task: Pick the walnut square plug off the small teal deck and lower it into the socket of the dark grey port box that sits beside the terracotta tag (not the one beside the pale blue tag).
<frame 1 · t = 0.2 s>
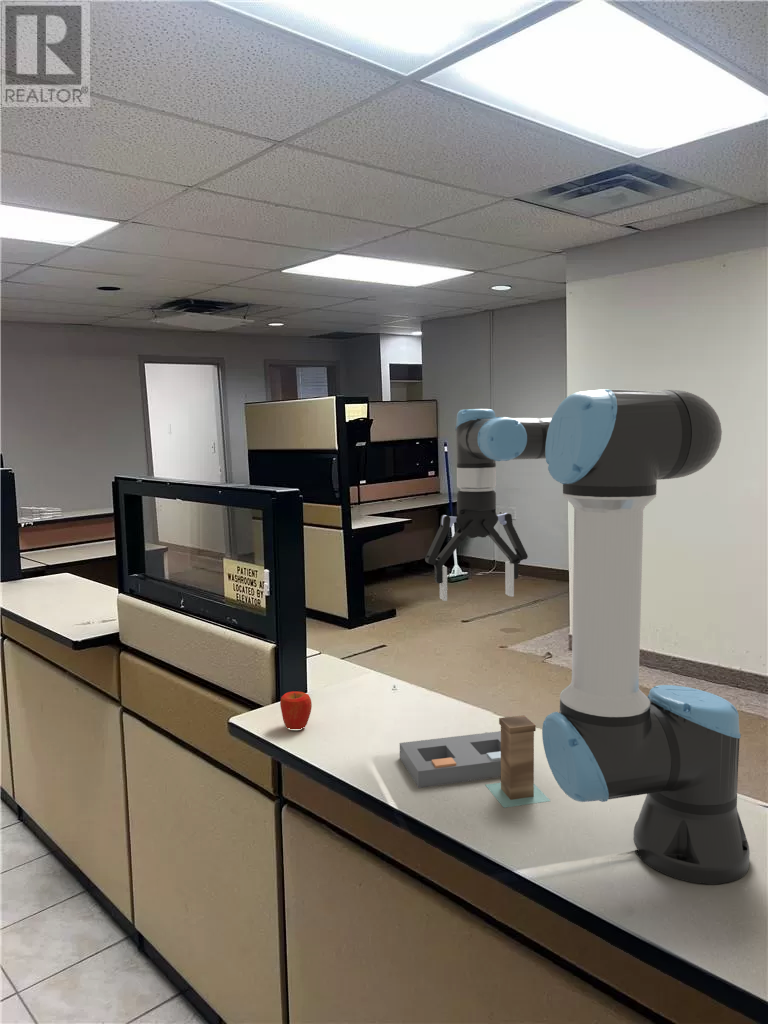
hand: (476, 597, 146), 28 cm above the counter, fingers open, 13 cm apart
apple: (296, 729, 153), on the counter
deck: (517, 799, 121), on the counter
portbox: (463, 771, 132), on the counter
plug: (517, 792, 121), point 1 cm above the counter, touching deck
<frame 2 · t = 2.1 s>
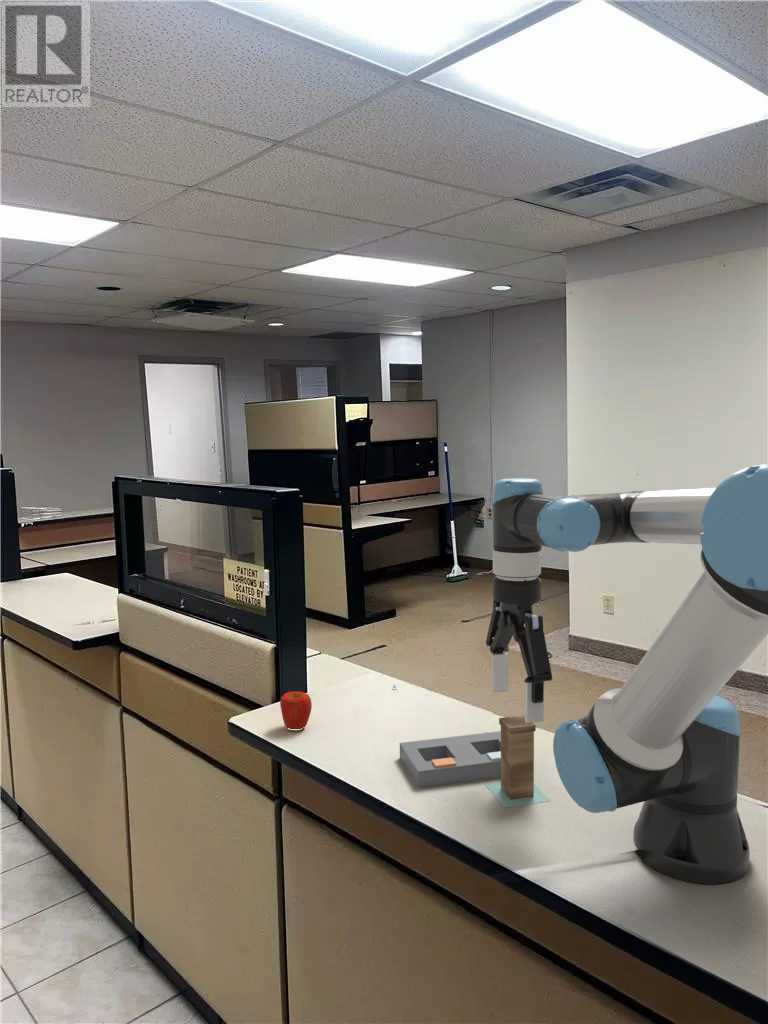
hand: (516, 705, 120), 16 cm above the counter, fingers open, 13 cm apart
nothing on the counter moved.
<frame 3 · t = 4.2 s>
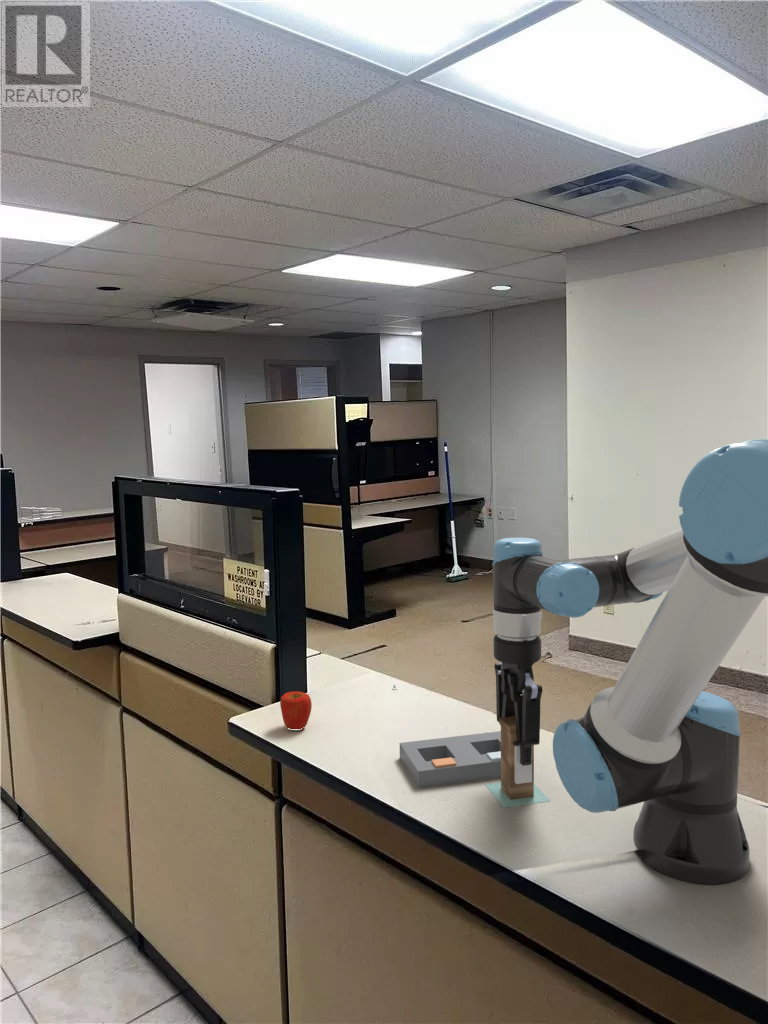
hand: (517, 775, 121), 4 cm above the counter, fingers closed on plug, 4 cm apart
plug: (517, 792, 121), point 1 cm above the counter, touching deck, gripper
everything else where it was.
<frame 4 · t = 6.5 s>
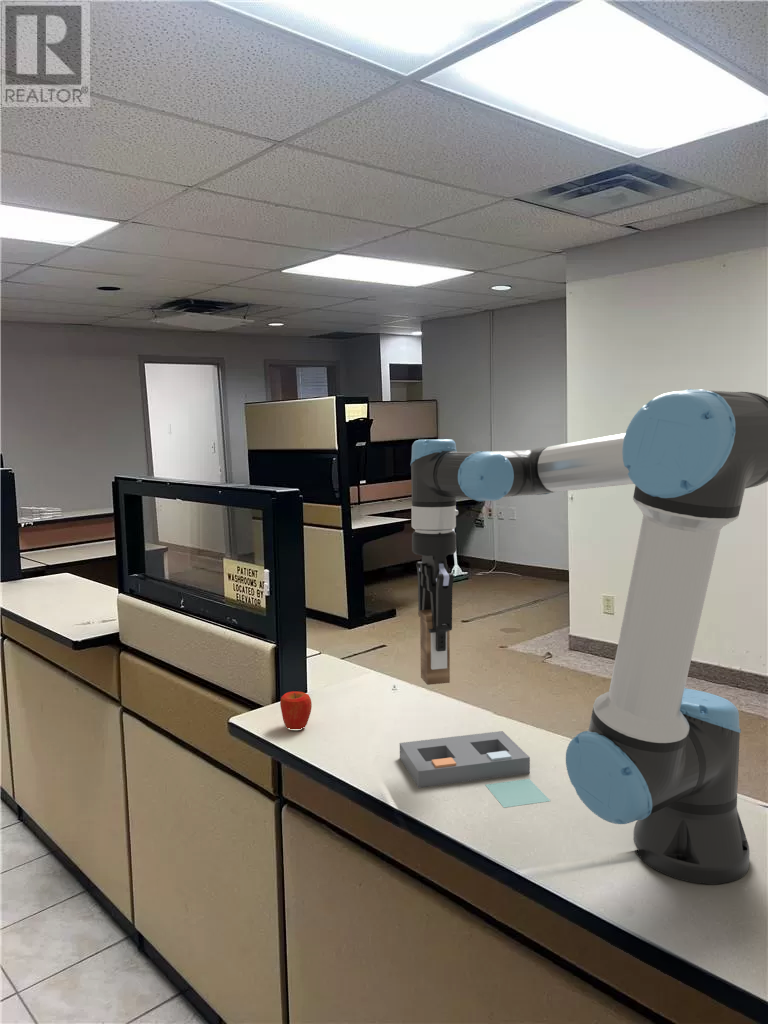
hand: (434, 663, 129), 20 cm above the counter, fingers closed on plug, 4 cm apart
plug: (435, 680, 129), point 17 cm above the counter, touching gripper
everything else where it was.
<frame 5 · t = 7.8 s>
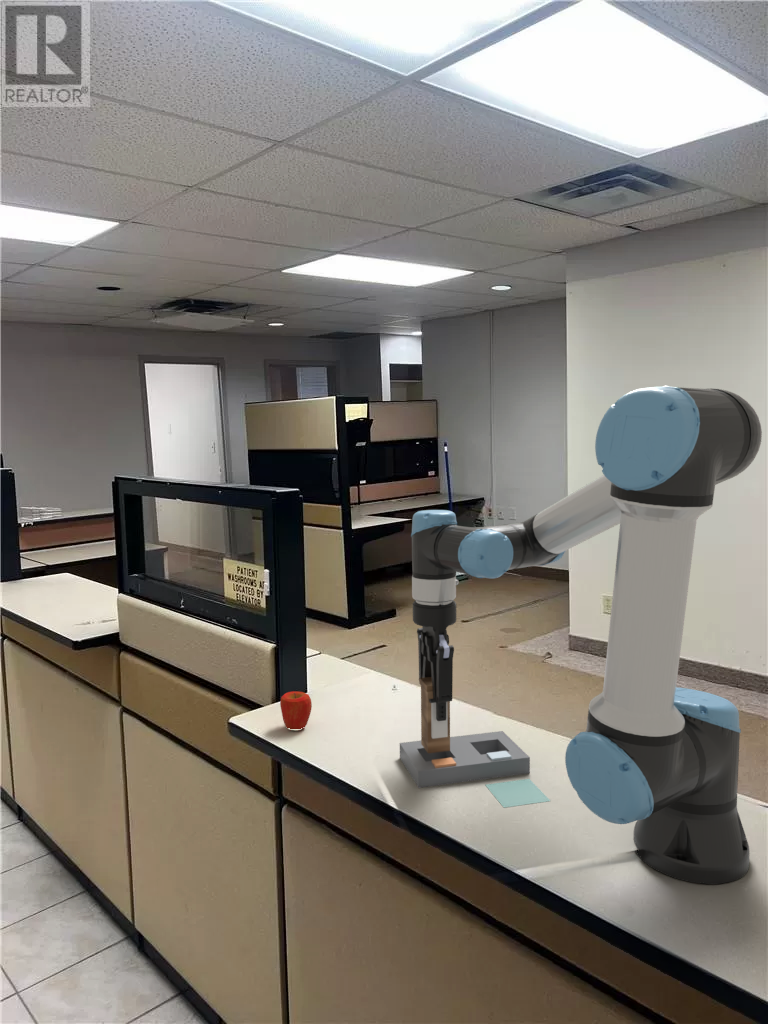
hand: (435, 731, 130), 8 cm above the counter, fingers closed on plug, 4 cm apart
plug: (435, 747, 130), point 5 cm above the counter, touching gripper
everything else where it was.
when the fingers open (5 cm above the counter, at t = 8.9 s): plug drops 2 cm, resting in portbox.
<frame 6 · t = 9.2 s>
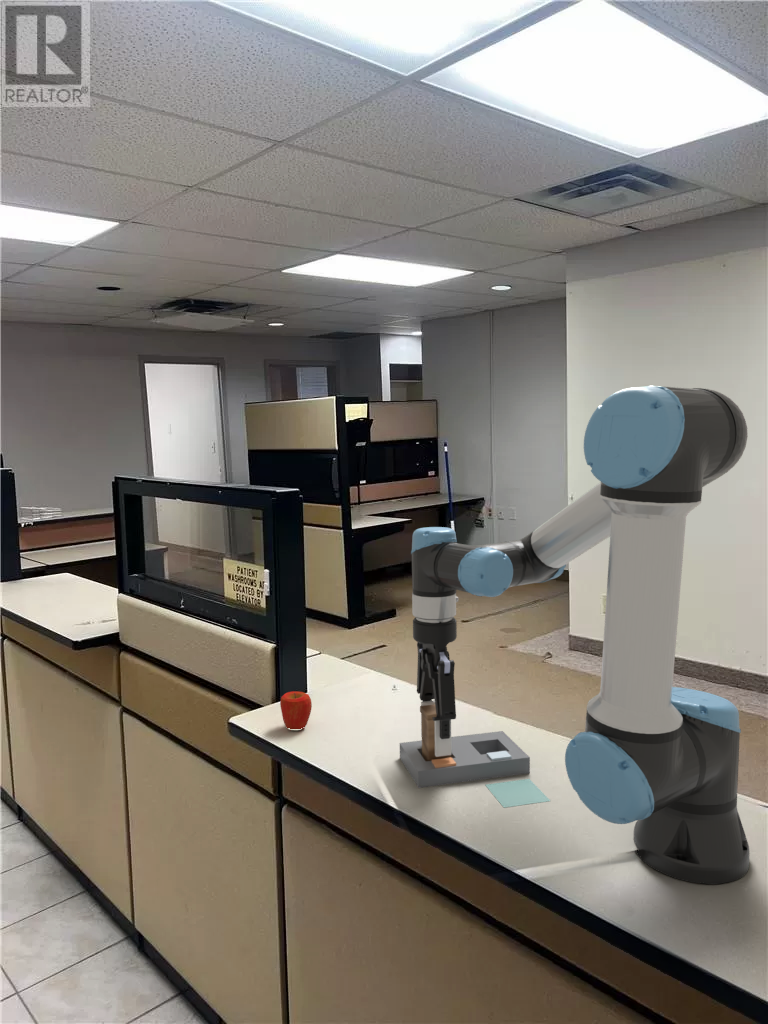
hand: (435, 745, 130), 5 cm above the counter, fingers open, 7 cm apart
plug: (436, 775, 131), resting in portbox
everything else where it was.
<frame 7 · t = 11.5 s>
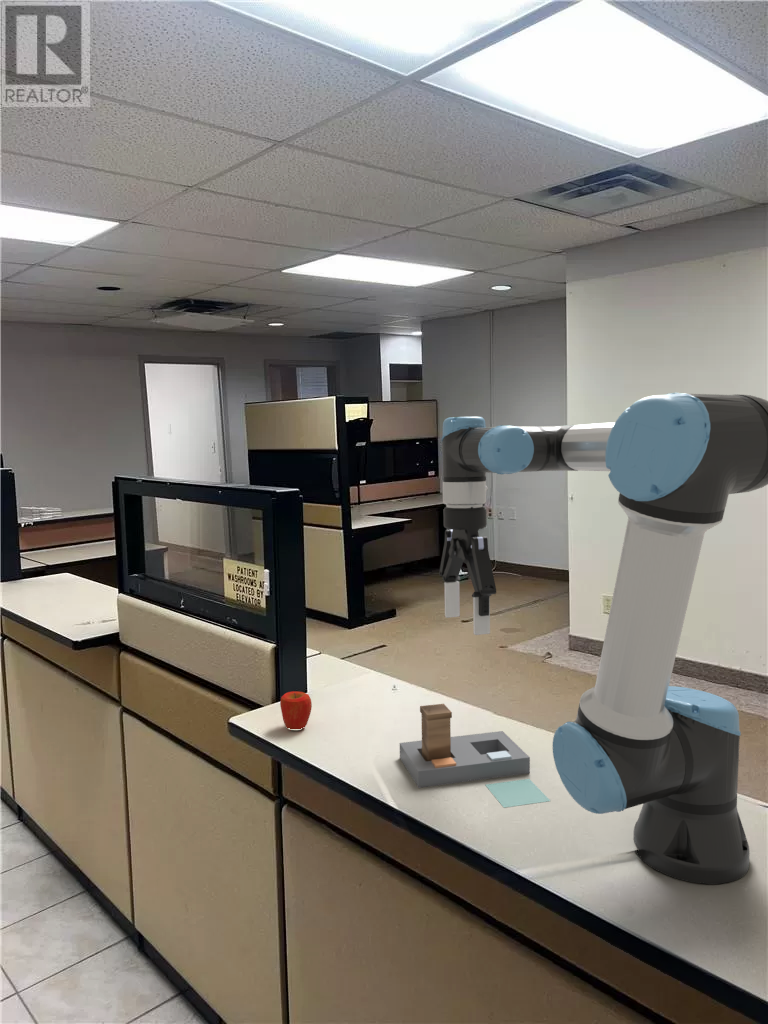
hand: (466, 625, 132), 26 cm above the counter, fingers open, 13 cm apart
nothing on the counter moved.
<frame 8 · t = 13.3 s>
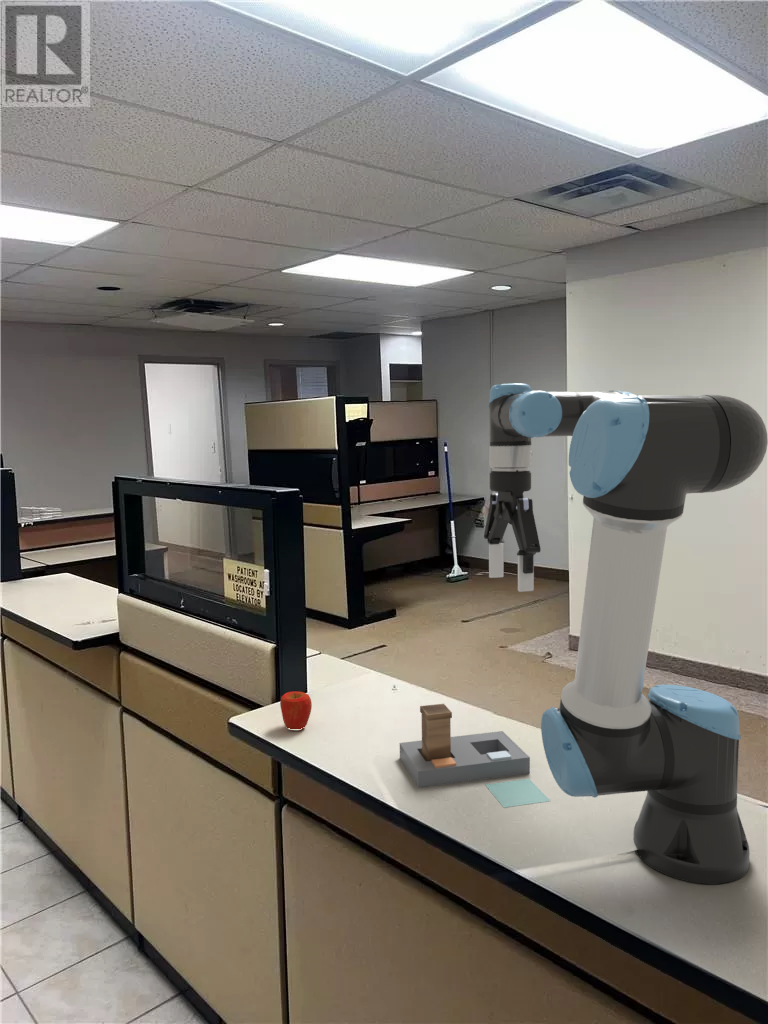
hand: (510, 584, 138), 32 cm above the counter, fingers open, 13 cm apart
nothing on the counter moved.
at the end: plug 0.0 cm from the target spot on the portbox, point 0.0 cm above the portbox's base; plug tilted 0°; the gripper is holding nothing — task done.
